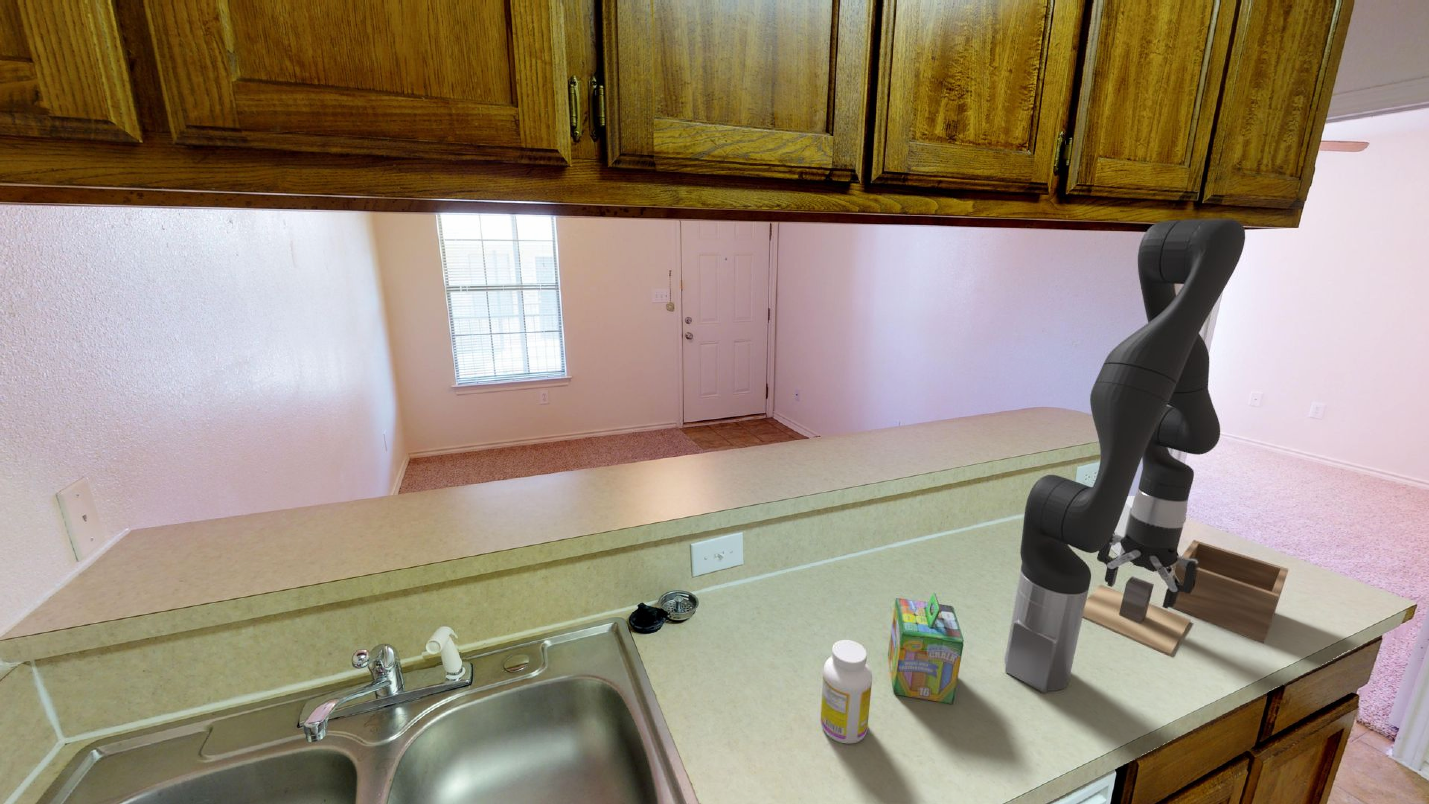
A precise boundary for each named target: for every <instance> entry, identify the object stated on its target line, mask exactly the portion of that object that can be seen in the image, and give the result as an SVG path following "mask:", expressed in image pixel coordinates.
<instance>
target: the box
mask: <svg viewBox="0 0 1429 804" xmlns="http://www.w3.org/2000/svg"><path fill="white" fill-rule="evenodd" d="M1181 556H1183V557H1186V558H1190V559H1191V558H1193V557H1194V558H1197V559H1198V560H1199V565H1198V570H1197V576H1196V581H1195V587H1194V589H1193V590H1192V592H1191V593H1190V594H1187V593H1185V592H1178V595H1177V599H1176V603H1175V604H1174V606H1172V607H1170V608H1172V609H1174V610H1177V611H1180V612H1181V613H1184V614H1187V615H1189V616H1192V617H1195V618H1198V619H1199V620H1202V621H1205V622H1208V623H1209V624H1212V625H1216V626H1218V627H1220V628H1222V629H1226V630H1228V631H1231V632H1233V633H1235V634H1238V635H1241V636H1243V637H1247V638H1248V639H1251V640H1254V641H1256V642H1260V643H1262V644H1265V641H1266V638H1267V636H1268V634H1269V633H1268V632H1269V630H1270V628H1271V624H1272V622H1273V619H1274V616H1275V613H1276V610H1277V608H1278V604H1279V601H1280V597H1281V594H1282V591H1283V588H1284V586H1285V582H1286V579H1287V575H1288V572H1289V568H1287V567H1283V566H1280V565H1277V564H1274V563H1270V562H1267V561H1264V560H1260V559H1258V558H1254V557H1252V556H1249V555H1244V554H1240V553H1238V552H1235V551H1231V550H1227V549H1225V548H1221V547H1219V546H1215V545H1212V544H1208V543H1205V542H1202V541H1199V540H1196V539H1193V540H1192V542H1190V544H1189V546H1188V547H1187V549H1186V550H1184V552H1183V554H1182V555H1181ZM1174 571H1175V575H1176V577H1177V578H1178V580H1179V582H1184V578H1185V572H1186V571H1185V570H1183V569H1182V568H1181V564H1180V563H1179V562H1176V563H1175V569H1174Z"/></svg>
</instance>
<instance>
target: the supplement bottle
mask: <svg viewBox="0 0 1429 804" xmlns="http://www.w3.org/2000/svg"><path fill="white" fill-rule="evenodd" d="M867 656H868V653H867V650H866V648H864V646H863V645H862V644H860V643H858V642H856V641H854V640H850V639H841V640H838V641H835V643H833V645H832V649H831V656H830V657H829V658H828V659H826V661H825V663H824V665H823V673H822V689H821V703H820V705H821V706H820V724H821V728H822V729H823V730H824V732H825V733H826V735H827V736H828V737H830V738H831V739H833V740H834V741H836V742H838V743H841V744H855V743H859V742H860V741H862V740H863V739H864V738H865V736H866V735H867V731H868V726H869V719H870V718H869V716H870V707H871V706H870V705H871V696H872V695H871V693H872V684H873V674H872V670H871V668H870V666H869V664H867V658H868V657H867Z"/></svg>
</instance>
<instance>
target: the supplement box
mask: <svg viewBox="0 0 1429 804" xmlns="http://www.w3.org/2000/svg"><path fill="white" fill-rule="evenodd" d="M1134 497H1135V495H1128V497H1127V500H1126V503H1125V506H1124V509H1123V512H1122V514H1121V517H1120V520H1119V522H1118V525H1117V527H1116V529H1115V531H1114V532H1115V534H1116V535H1119V536H1121V537H1125V535H1126V531H1127V527H1128V522H1129V518H1130V513H1131V509H1132V505H1133V501H1134ZM1110 550H1111V551H1112V552H1114V553H1115V555H1116V556H1119V555H1121V554H1122V553H1124V552H1125V551H1124V550H1123V548H1122V546H1121V543H1119V542H1118V543H1116V544H1115V545H1114V546H1111V549H1110Z"/></svg>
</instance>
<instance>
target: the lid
mask: <svg viewBox="0 0 1429 804" xmlns="http://www.w3.org/2000/svg"><path fill="white" fill-rule="evenodd" d="M1154 585H1155V584H1154V583H1152V582H1149V581H1146V580H1144V579H1141V578H1138V577H1135V576H1131V577H1130V578H1129V579H1128V580H1127V581H1126V583H1125V586H1124V592H1121V591H1118V590H1115V589H1113V588H1112V587H1111V588H1110V587H1109V586H1106V585H1104V584H1100V585H1099V586H1098V587H1097V588H1096V589H1095V590H1094V591H1093V592H1092V593H1091V594H1090V595H1089V597H1087V600H1086V604H1085V608H1084V613H1083V618H1082V619H1084V618H1085V619H1084V620H1086V621H1089V622H1090V623H1093V624H1095V623H1096V625H1098V626H1099V627H1102V626H1103V627H1102V628H1104V627H1105V629H1108V630H1109V629H1110V630H1109V631H1111V630H1112V632H1113V633H1116V634H1118V635H1121V636H1123V637H1124V638H1127V639H1128V640H1129V639H1130V640H1132V641H1134V642H1136V643H1139V644H1141V645H1143V646H1146V647H1148V648H1150V649H1153V650H1155V651H1157V652H1159V653H1162V654H1163V655H1167V657H1170V656H1171V655H1172V653H1173V651H1174V650H1175V648H1176V647H1177V645H1178V643H1179V642H1180V640H1181V638H1182V637H1183V635H1184V633H1185V631H1186V630H1187V628H1188V626H1189V625H1190V622H1191V619H1189V618H1187V617H1185V616H1182V615H1179V614H1177V613H1174V612H1172V611H1169V610H1168V609H1166V608H1163V607H1162V608H1161V607H1158V606H1156V605H1154V604H1151V603H1150V601H1151V597H1152V593H1153V589H1154Z"/></svg>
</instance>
